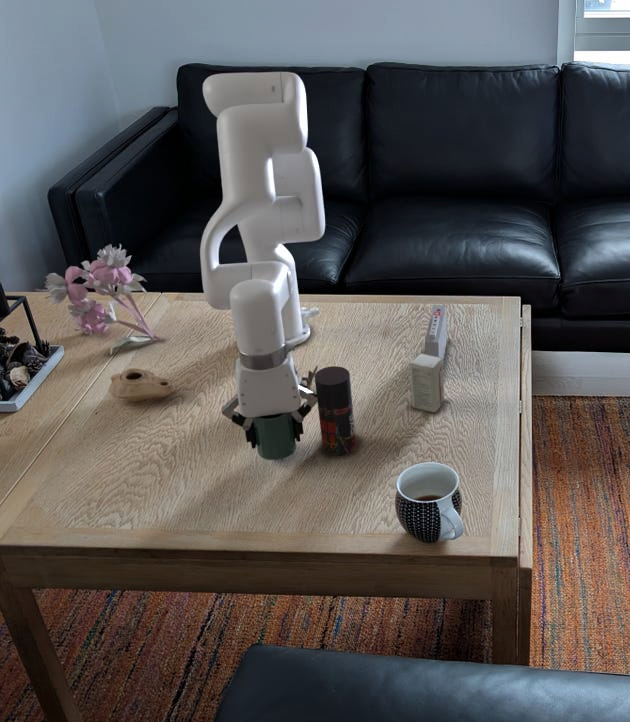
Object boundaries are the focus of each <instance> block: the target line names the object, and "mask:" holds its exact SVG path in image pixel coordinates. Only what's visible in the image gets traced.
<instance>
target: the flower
mask: <svg viewBox="0 0 630 722" xmlns="http://www.w3.org/2000/svg"><path fill="white" fill-rule="evenodd" d="M127 251H128V250H127V249H125V248H124V249H122V244H121V243H119V248H116V246H115V247H112V243H110V244H108V245H106V246H104V248H103V249H101V248H100V249H99V250H98V252H97V255H98V256H97V259H96V260H93V261H92V262H91V263H90V261H89V260H84V261H82V262H81V263H80V264H81V265H82V267H83V269H82V268H79V267H78V266H75V265H74V266H73V265H70V266H69V267H68V268H67V269H66V270H65V276H64V277H63V276H61V275H59V274H58V273H56V272H51V273H49V274H48V275H46V276H45V279H46V281H44V284H45V286H44V288H45V289H39V288H35V291H37V292H43V293H45V292H46V293H47V294H48V295H49V296H45V300H47V299H49V298H51V299H50V300H49V301H50V303H52V304H61V303H62V302H64V300H65V299H66V297H68V300H69V303H70V304H67V309H68V310H69V311H70V312H69V315H71V316H72V319H71V320H72V321H75V322H76V325H77V327H74V328H73V330H74V332H78V331H80V330H82V331H83V333H85V335H92V331H93V332H94V333H95V334H104V332H106V331H107V330H108V329H109V326H111V325H113V324H117V323H118V324H120V325H123V326H125V327H127V328H129V329H132V330H134V331H137V332H140V333H142V334H139V335H131V336H120V337H118V338H116V339H115V340H114V342H113V343H112V344H111V346H110V354H109V355H112V354H113V352H114V349H115V348H117V347H119V346H122V345H124V344H126V343H131V342H132V343H133V342H134V343H137V344H139V343H141V344H142V343H143V342H147V341H150V340H159V341H161V338H160V337H158V336H157V335H155V334H154V333H153V332H152V331H151V329H150V327H149V325H148V323H147V321H146V319H145V317H144V315H143V314H142V312H141V310H140V308H139V307H138V305H137V304H136V302H135V300H134V298H133V295H132V292H133V291H134V292H138V291H142V292H143V293H144V294H148V292H147V290H146V289H145V288H144V286H142V285H141V283H140V282H141V281H144V282H148V281H147V280H146V279H145V278H144V277H143V276H141V275H139V274H137V273H132V271H131V269H130V268H129V267H127V265H128V264H129V263H130V261H131V257H132V255H129V256H127V257H126V255H127ZM80 277H81V279H83V280H85V282H84V283H76V282H74V281H75V280H76V279H78V278H80ZM46 288H47V289H46ZM87 288H88V289H94V290H95V292H96V294H98V295H100V296H103V297H104V296H109V297H110V298H113V300H110V301H109V302H108V303H107V310H106V309H105V308H104V305H103V303H98V302H97V300H94V299H90V300H88V294H89V290H88V289H87ZM115 288H116V289H115ZM115 290H116V291H115ZM120 296H124V297H126V299H125V298H120ZM126 300H128V301H129V303H130V305H131V306H132V308H133V309H134V310H135V311H136V312H137V314H138V316H139V317H138V316H137V314H136V313H135V312H134V311H133V310H132V309H131V307H129V306H128V305H127V304H126V303H125V302H124V301H126ZM118 305H120V306H121V307H123V309H124V310H125V311H126V312H127V313H128V314H129V315H130V316H131V317H132V318H133V319H134V320H135V322H136V323H137V324H138V325H139V326H138V325H137V324H135V323H131V322H127V321H124V320H122V319H121V320H120V319H117V317H116V313H115V310H114V308H115V307H116V306H118Z"/></svg>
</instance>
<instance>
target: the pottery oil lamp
mask: <svg viewBox="0 0 630 722" xmlns="http://www.w3.org/2000/svg"><path fill="white" fill-rule="evenodd" d="M110 381H111V383H110V385H109V387H108V392H109V394H110V395H111V396H112V397H114V398H117V399H122V400H126V401H129V402H131V403H132V402H134V403H136V402H143V401H146V400H148V399H152V398H161V397H166V396H169V395H171V394H172V393H173V392H174V391H175V389H176V387H175V384H174V382H173V381H171V380H169V379H166V378H163V377H160V376H157V375H155V374H154V373H153V372H151V371H150V370H147V369H142V368H128V369H126V370H124V371H123V372H121V373H120V372H119V373H115V374H113V375H111V376H110Z"/></svg>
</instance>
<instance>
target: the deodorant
mask: <svg viewBox="0 0 630 722" xmlns="http://www.w3.org/2000/svg"><path fill="white" fill-rule="evenodd" d="M349 371H350V370H348V369H347V368H346V367H342V366H339V365H337V366H336V365H333V366H326V367H323V368H321V369H319V370H317V371H316V373H315V376H314V382H315V393H316V394H317V398H318V402H317V408H318V418H319V419H318V420H319V427H320V435H321V443H322V450H323V451H324V452H325V453H326V454H327V455H330V456H335V457H336V456H337V457H338V456H340V457H341V456H344V455H347V454H350V453H352V452H353V451H354V450H355V448H356V446H357V440H356V431H355V418H354V408H353V396H352V395H353V394H352V385H351V374H350V372H349Z"/></svg>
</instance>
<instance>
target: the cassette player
mask: <svg viewBox="0 0 630 722" xmlns="http://www.w3.org/2000/svg"><path fill="white" fill-rule="evenodd" d="M447 330H448V329H447V305H445V304H444V305H443V304H442V305H441V304H433V305H432V310H431V314H430V318H429V323H428V326H427V331H426V336H425V339H424V354H428V355H433V356H437V357H441V358H443V359H444V358H445V353H446V347H447V342H448V340H447V335H448V334H447V333H448V332H447Z"/></svg>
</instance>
